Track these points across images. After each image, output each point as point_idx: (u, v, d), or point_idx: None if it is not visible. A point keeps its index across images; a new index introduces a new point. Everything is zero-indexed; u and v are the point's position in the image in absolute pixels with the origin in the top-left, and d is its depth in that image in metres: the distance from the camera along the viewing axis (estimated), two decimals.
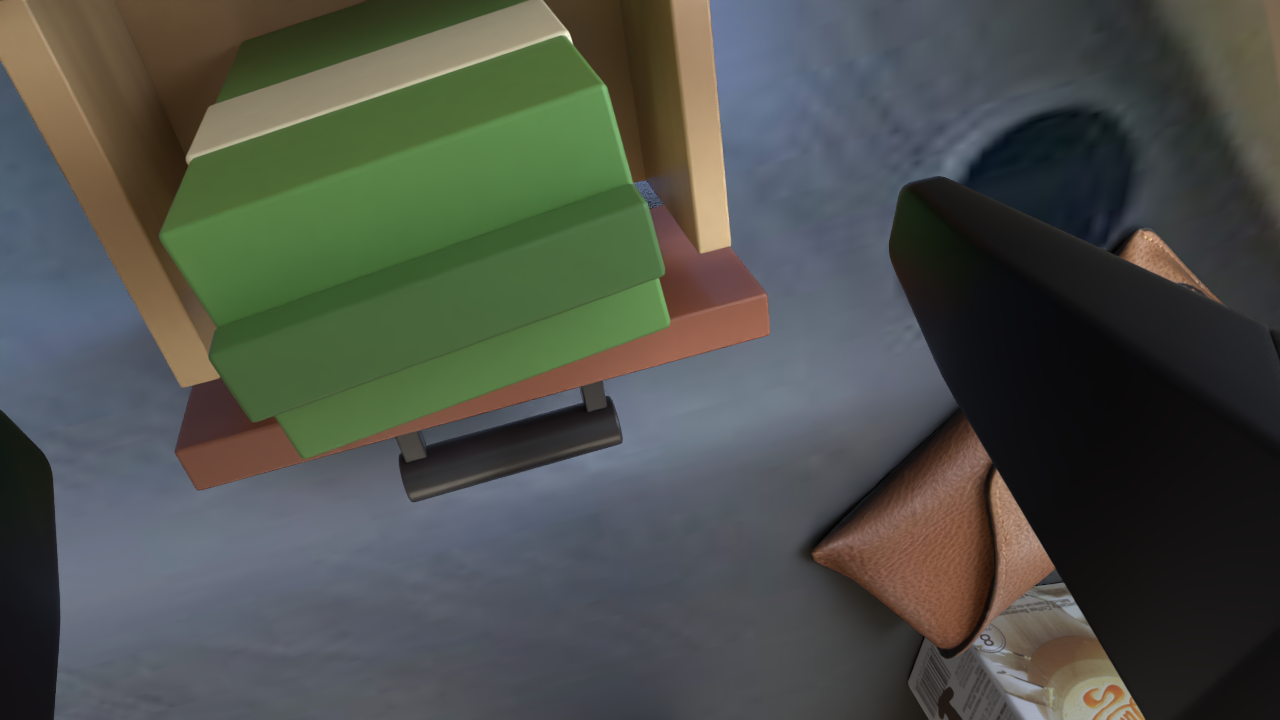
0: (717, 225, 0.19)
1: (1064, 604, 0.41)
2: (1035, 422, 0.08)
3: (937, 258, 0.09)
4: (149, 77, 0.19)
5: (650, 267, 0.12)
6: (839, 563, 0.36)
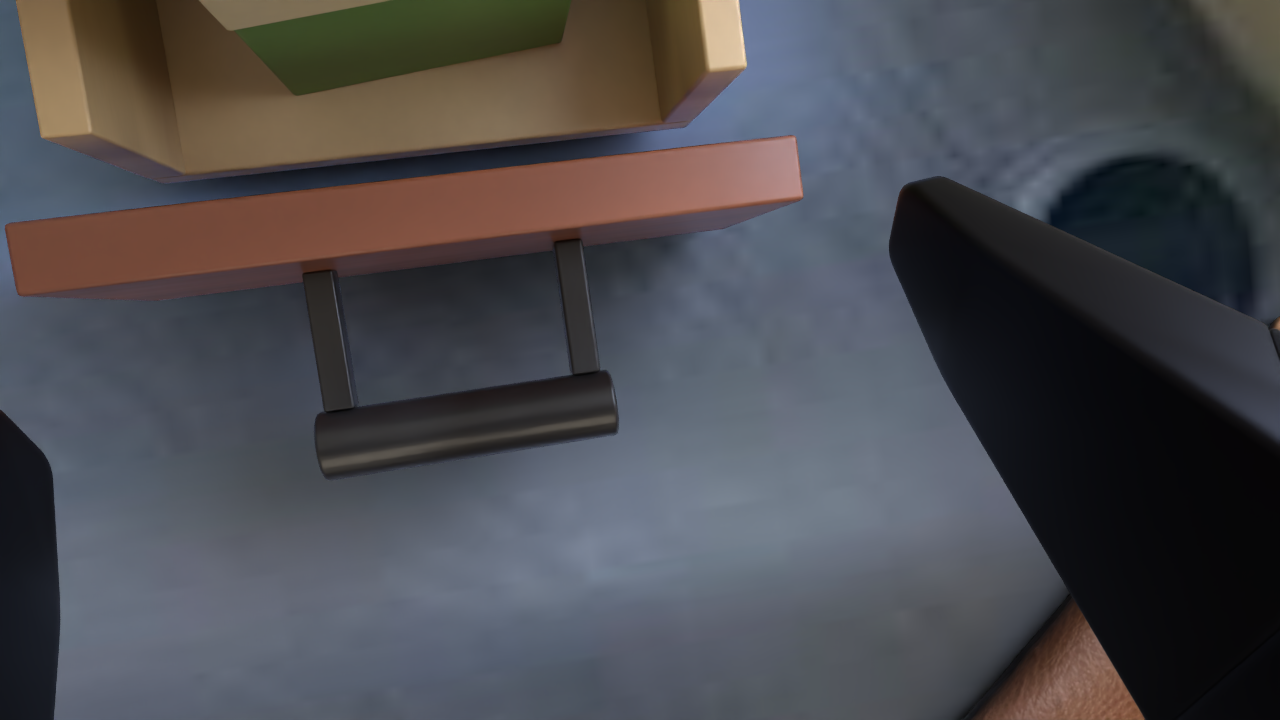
0: (728, 33, 0.16)
1: None
2: (1035, 422, 0.08)
3: (937, 258, 0.09)
4: None
5: None
6: None
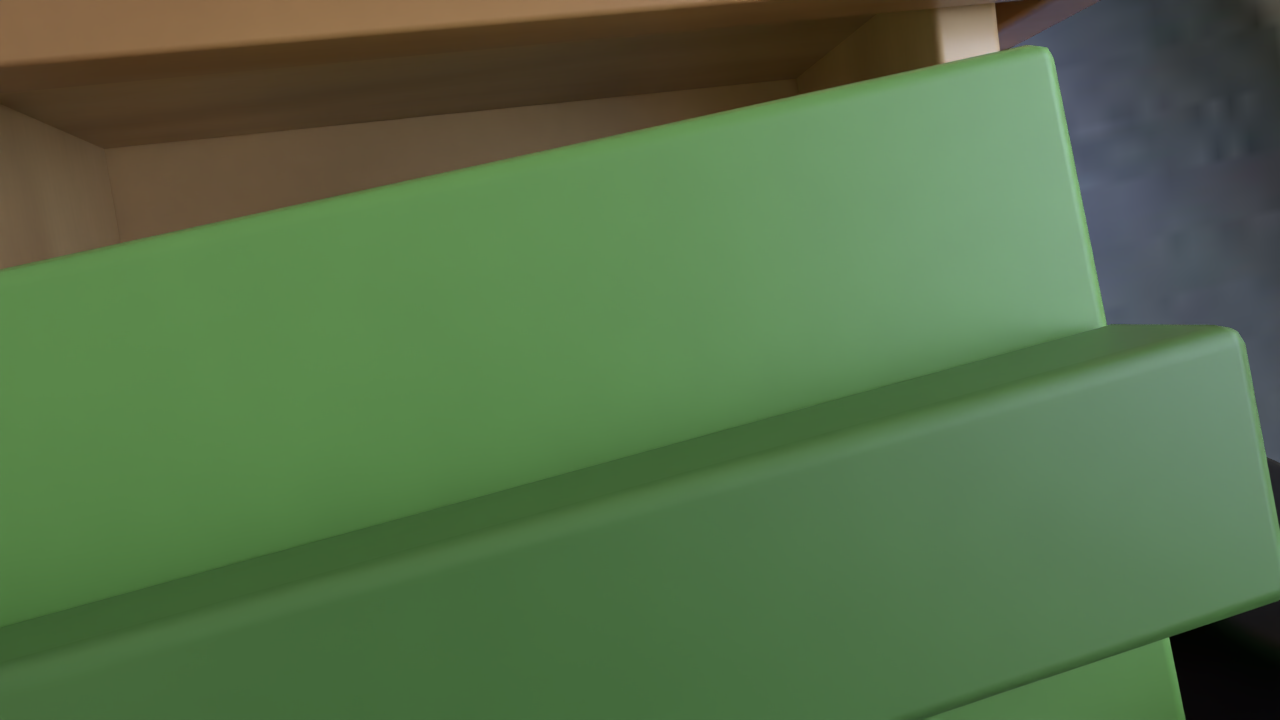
0: None
1: None
2: None
3: None
4: None
5: (1248, 559, 0.04)
6: None
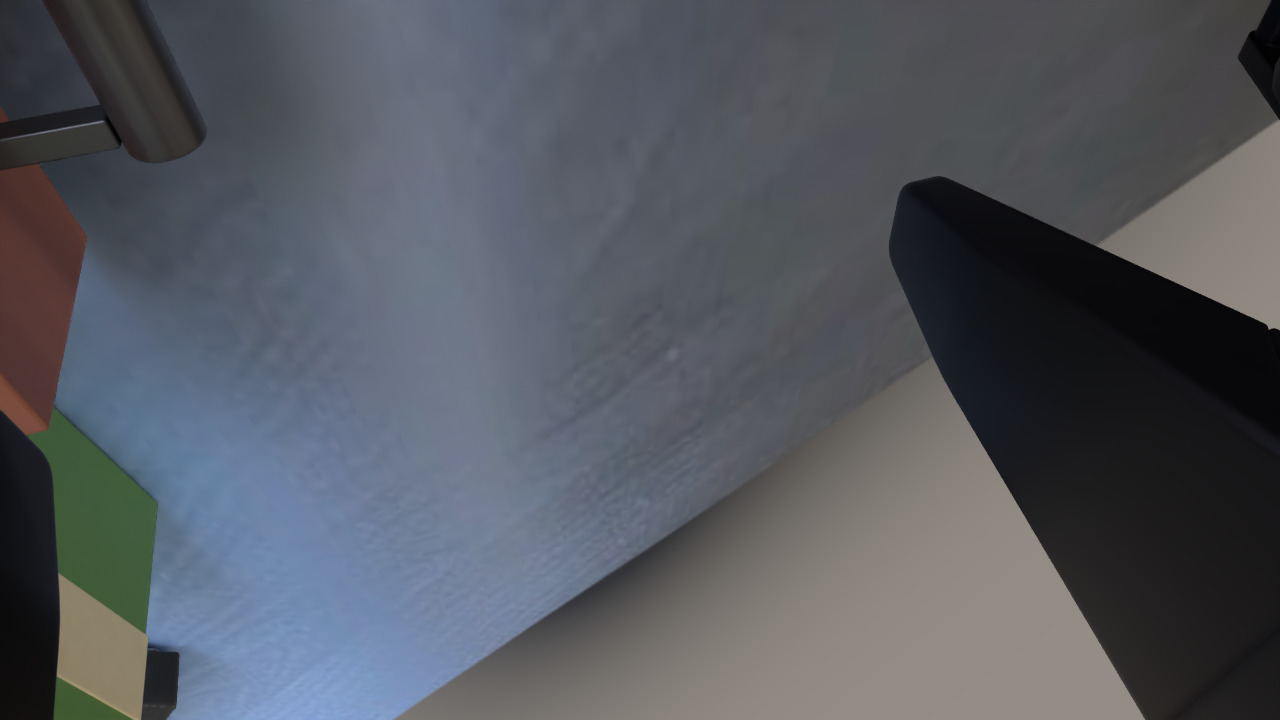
0: None
1: None
2: (1035, 422, 0.08)
3: (937, 258, 0.09)
4: None
5: None
6: None
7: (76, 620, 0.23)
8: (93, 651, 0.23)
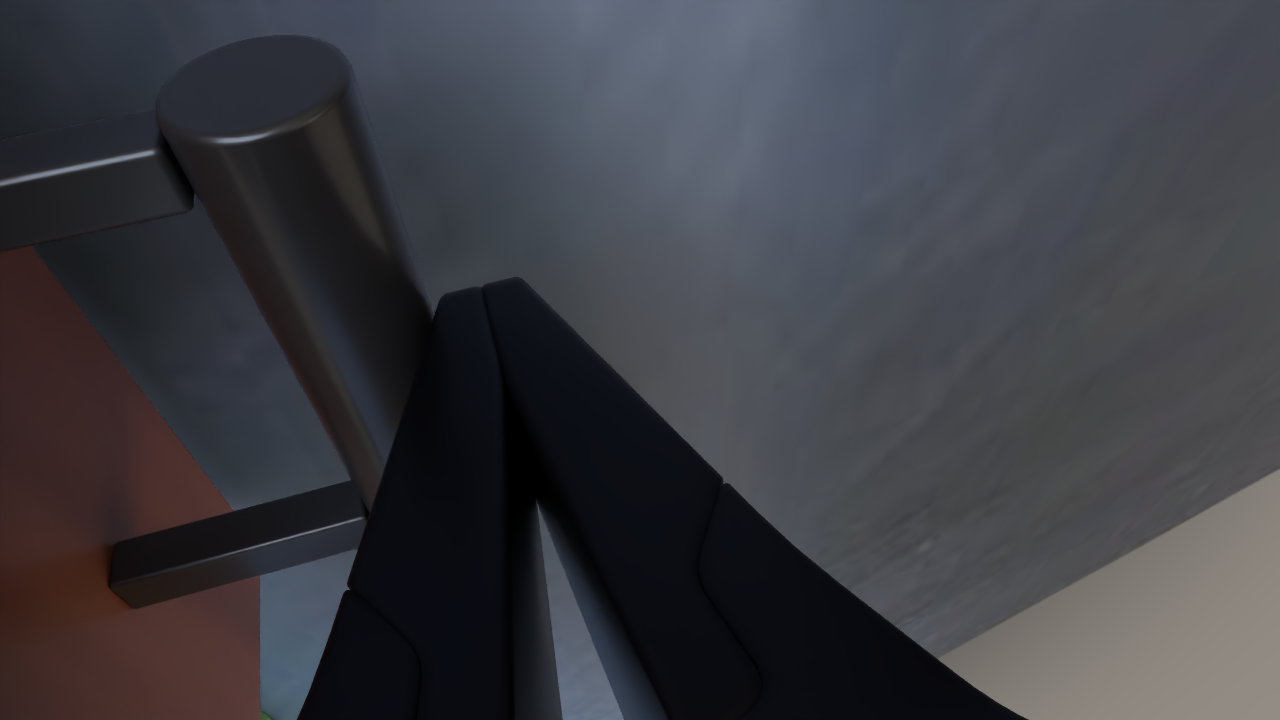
0: None
1: None
2: (567, 557, 0.07)
3: None
4: None
5: None
6: None
7: None
8: None
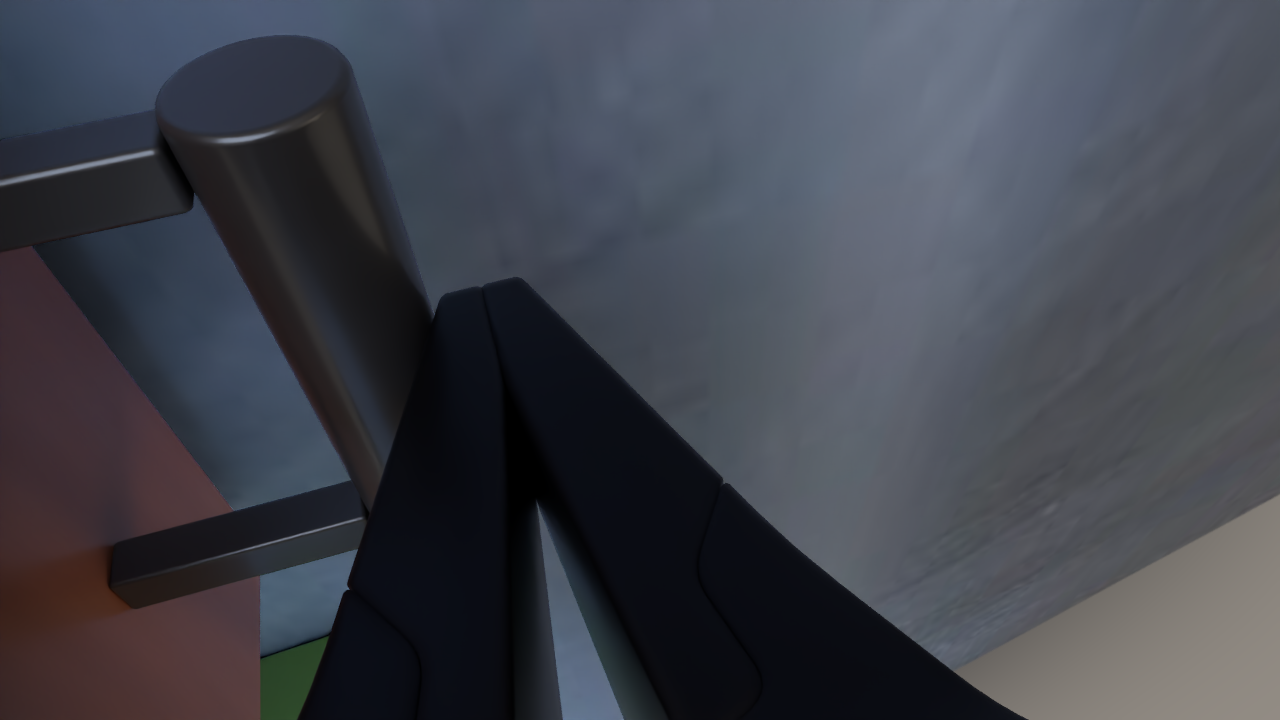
0: None
1: None
2: (567, 556, 0.07)
3: None
4: None
5: None
6: None
7: None
8: None
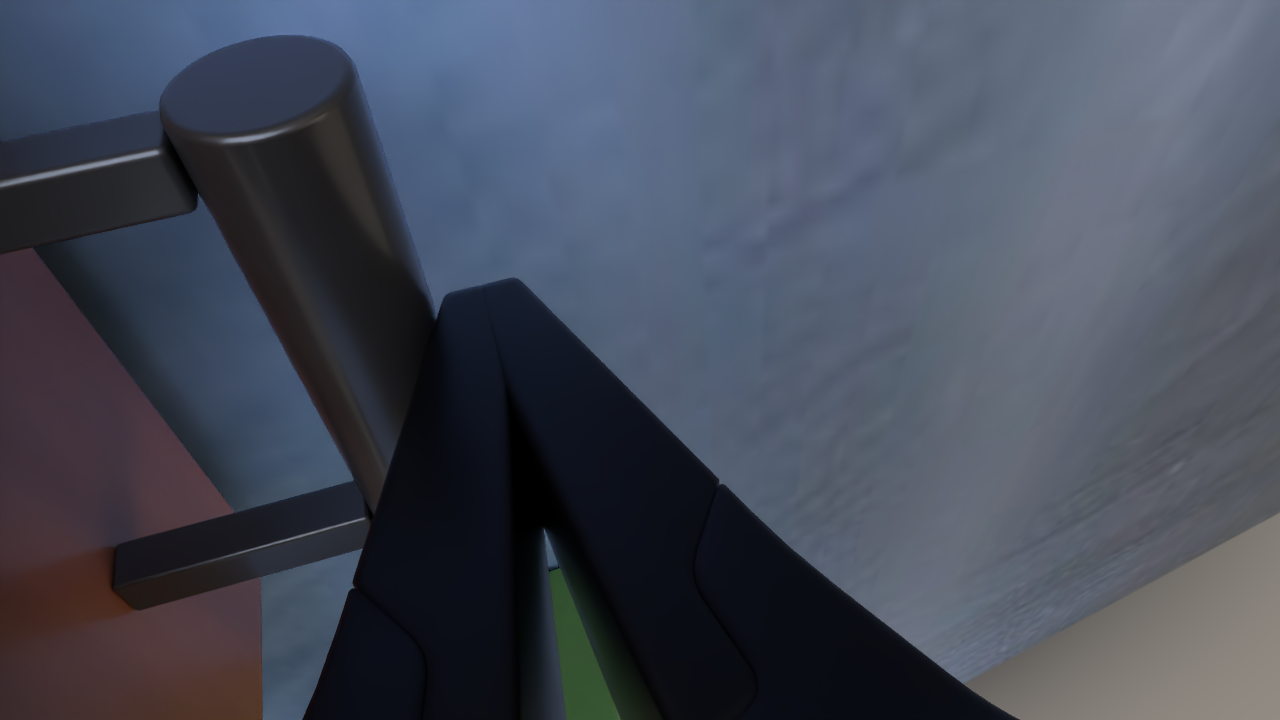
0: None
1: None
2: (564, 557, 0.07)
3: None
4: None
5: None
6: None
7: None
8: None
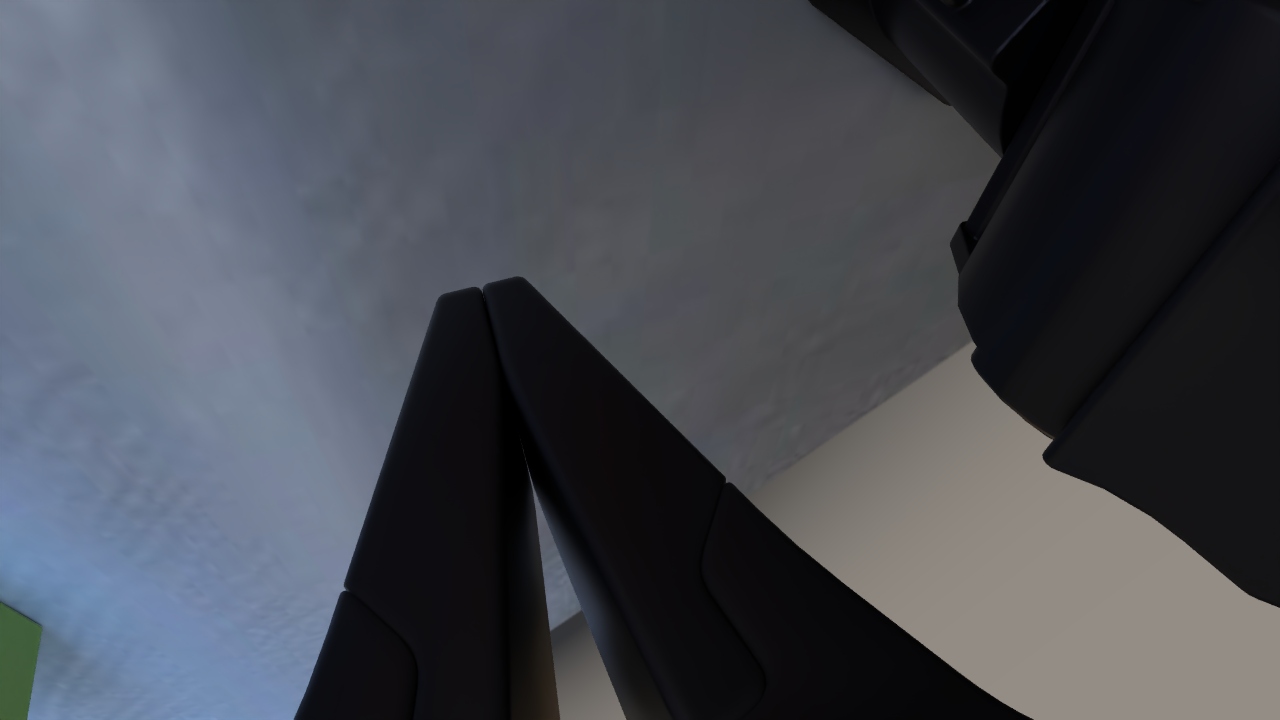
0: None
1: None
2: (569, 556, 0.07)
3: (502, 368, 0.08)
4: None
5: None
6: None
7: None
8: None
